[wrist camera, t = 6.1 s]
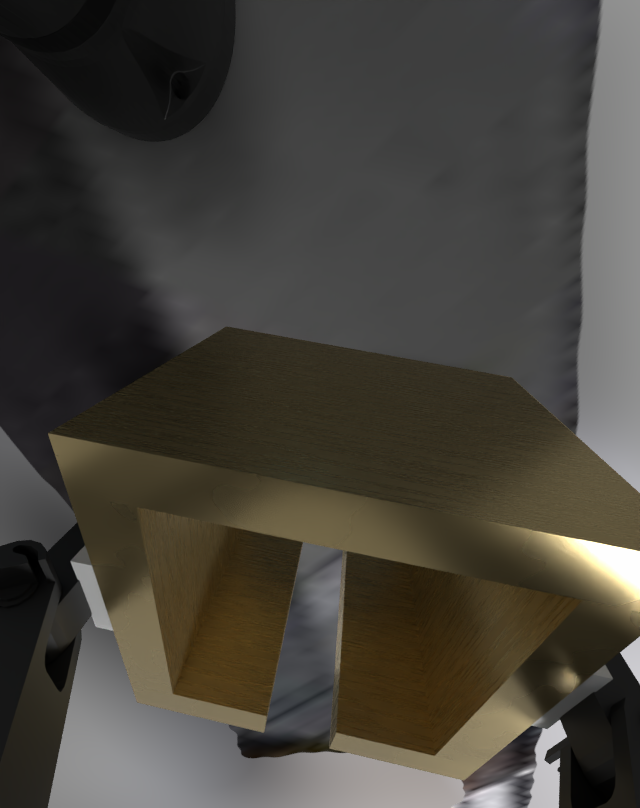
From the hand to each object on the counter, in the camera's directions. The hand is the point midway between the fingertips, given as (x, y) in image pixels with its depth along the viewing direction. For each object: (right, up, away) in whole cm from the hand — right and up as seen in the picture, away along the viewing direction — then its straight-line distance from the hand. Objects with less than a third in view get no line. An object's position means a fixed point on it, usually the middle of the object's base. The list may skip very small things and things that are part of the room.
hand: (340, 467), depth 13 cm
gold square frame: (0, 0, 0) cm, 0 cm away
